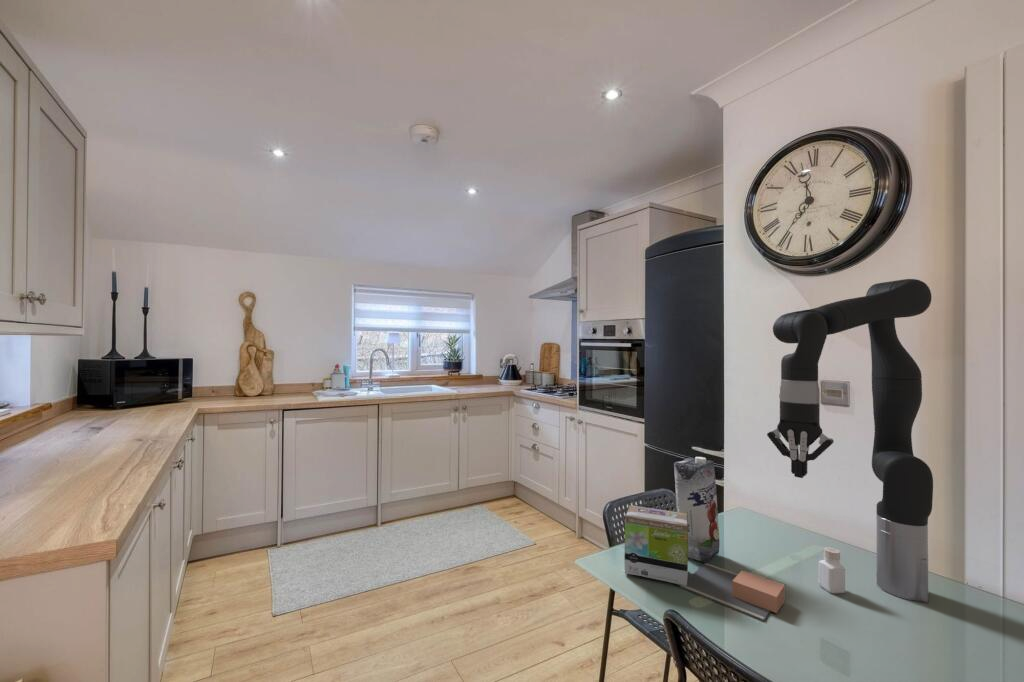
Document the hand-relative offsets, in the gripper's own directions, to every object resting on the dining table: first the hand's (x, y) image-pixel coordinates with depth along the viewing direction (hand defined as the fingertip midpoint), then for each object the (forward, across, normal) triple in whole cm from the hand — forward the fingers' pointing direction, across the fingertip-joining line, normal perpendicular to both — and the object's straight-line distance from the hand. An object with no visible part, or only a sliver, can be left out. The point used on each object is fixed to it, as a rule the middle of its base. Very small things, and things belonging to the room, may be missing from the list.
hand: (799, 476), depth 97 cm
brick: (+27, +3, +4) cm, 27 cm away
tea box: (+29, +29, +10) cm, 42 cm away
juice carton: (+29, +25, -8) cm, 39 cm away
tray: (+29, +13, +4) cm, 32 cm away
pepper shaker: (+29, -4, -14) cm, 33 cm away
